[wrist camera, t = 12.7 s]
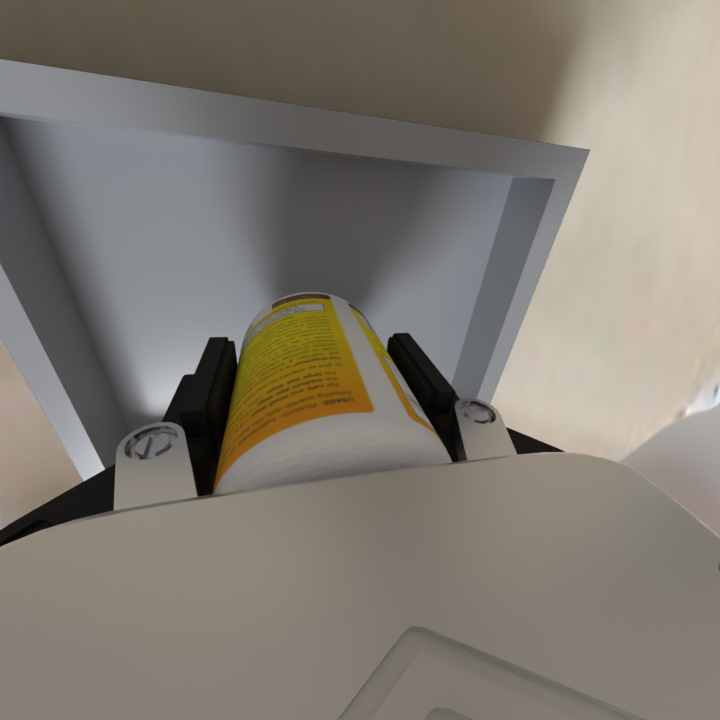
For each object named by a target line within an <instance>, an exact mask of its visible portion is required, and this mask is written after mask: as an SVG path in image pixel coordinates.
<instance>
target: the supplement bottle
mask: <svg viewBox="0 0 720 720" xmlns="http://www.w3.org/2000/svg"><path fill="white" fill-rule="evenodd" d="M451 462H452V460H451V458H450V456H449V454H448V452H447V450H446V448H445V446H444V445H443V443H442V441H441V439H440V438H439V436H438V435H437V433H436V431H435V430H434V428H433V426H432V425H431V423H430V421H429V420H428V418H427V416H426V415H425V413H424V412H423V410H422V408H421V407H420V405H419V403H418V402H417V400H416V398H415V397H414V395H413V393H412V392H411V390H410V388H409V387H408V385H407V383H406V382H405V380H404V378H403V377H402V375H401V373H400V372H399V370H398V369H397V367H396V365H395V364H394V362H393V360H392V359H391V357H390V356H389V354H388V352H387V351H386V349H385V347H384V346H383V344H382V342H381V341H380V339H379V338H378V336H377V334H376V333H375V331H374V330H373V328H372V326H371V325H370V323H369V322H368V320H367V319H366V318H365V316H364V315H363V314H362V313H361V312H360V311H359V310H358V309H357V308H356V307H355V306H354V305H352V304H351V303H349V302H348V301H346V300H344V299H342V298H340V297H337V296H335V295H331V294H327V293H322V292H300V293H294V294H291V295H287V296H284V297H282V298H279V299H277V300H276V301H274V302H272V303H270V304H269V305H267V306H266V307H265V308H264V309H262V310H261V311H260V312H259V313H258V314H257V316H256V317H255V318H254V319H253V321H252V322H251V323H250V325H249V327H248V329H247V331H246V333H245V336H244V339H243V342H242V347H241V351H240V357H239V361H238V367H237V372H236V376H235V381H234V387H233V391H232V396H231V402H230V406H229V412H228V417H227V422H226V428H225V433H224V437H223V442H222V448H221V453H220V458H219V463H218V468H217V473H216V479H215V483H214V488H213V493H212V495H213V494H220V493H227V492H235V491H242V490H249V489H256V488H263V487H271V486H278V485H285V484H292V483H299V482H307V481H314V480H321V479H329V478H336V477H344V476H351V475H358V474H366V473H374V472H381V471H389V470H396V469H404V468H411V467H419V466H427V465H435V464H443V463H451Z"/></svg>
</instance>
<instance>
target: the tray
mask: <svg viewBox="0 0 720 720" xmlns="http://www.w3.org/2000/svg"><path fill="white" fill-rule="evenodd" d="M589 151H590V150H589V149H582V148H576V147H569V146H563V145H556V144H550V143H543V142H537V141H530V140H524V139H517V138H511V137H504V136H498V135H491V134H485V133H478V132H472V131H465V130H459V129H452V128H446V127H439V126H433V125H426V124H420V123H413V122H407V121H400V120H394V119H387V118H381V117H374V116H368V115H361V114H355V113H348V112H342V111H335V110H329V109H322V108H316V107H309V106H303V105H296V104H290V103H283V102H277V101H270V100H264V99H257V98H251V97H244V96H238V95H231V94H225V93H218V92H212V91H205V90H199V89H192V88H186V87H179V86H173V85H166V84H160V83H153V82H147V81H140V80H134V79H127V78H121V77H114V76H108V75H101V74H95V73H88V72H82V71H75V70H69V69H62V68H56V67H49V66H43V65H36V64H30V63H23V62H17V61H10V60H4V59H0V338H1V340H2V341H3V343H4V345H5V347H6V348H7V350H8V352H9V353H10V355H11V357H12V359H13V360H14V362H15V364H16V365H17V367H18V369H19V371H20V372H21V374H22V376H23V378H24V379H25V381H26V383H27V384H28V386H29V388H30V390H31V391H32V393H33V395H34V396H35V398H36V400H37V402H38V403H39V405H40V407H41V409H42V410H43V412H44V414H45V415H46V417H47V419H48V421H49V422H50V424H51V426H52V428H53V429H54V431H55V433H56V434H57V436H58V438H59V440H60V441H61V443H62V445H63V446H64V448H65V450H66V452H67V453H68V455H69V457H70V459H71V460H72V462H73V464H74V465H75V467H76V469H77V471H78V472H79V474H80V476H81V478H82V479H83V481H86V480H87V479H89V478H91V477H93V476H94V475H96V474H98V473H100V472H101V471H103V470H105V469H107V468H108V467H110V466H112V465H114V464H115V463H116V451H117V448H118V445H119V444H120V442H121V441H122V440H123V439H124V438H125V437H126V436H127V435H129V434H130V433H131V432H133V431H135V430H137V429H139V428H140V427H143V426H146V425H149V424H153V423H158V422H162V420H163V417H164V415H165V413H166V411H167V409H168V407H169V405H170V402H171V400H172V398H173V396H174V394H175V392H176V390H177V387H178V385H179V383H180V381H181V379H182V377H183V376H184V375H186V374H195V371H196V369H197V366H198V364H199V362H200V359H201V357H202V354H203V352H204V349H205V347H206V345H207V342H208V340H209V338H210V337H228V340H229V341H234V343H235V349H236V356H237V363H238V361H239V357H240V351H241V347H242V342H243V339H244V336H245V333H246V331H247V329H248V327H249V325H250V323H251V322H252V321H253V319H254V318H255V317H256V316H257V314H258V313H259V312H260V311H261V310H262V309H264V308H265V307H266V306H267V305H269V304H270V303H272V302H274V301H276V300H277V299H279V298H282V297H284V296H287V295H291V294H294V293H300V292H322V293H327V294H331V295H335V296H337V297H340V298H342V299H344V300H346V301H348V302H349V303H351V304H352V305H354V306H355V307H356V308H357V309H358V310H359V311H360V312H361V313H362V314H363V315H364V316H365V318H366V319H367V320H368V322H369V323H370V325H371V326H372V328H373V330H374V331H375V333H376V334H377V336H378V338H379V339H380V341H381V342H382V344H383V346H384V347H385V349H386V351H387V344H388V339H389V337H393V334H394V333H409V334H410V335H411V336H412V338H413V339H414V340H415V341H416V343H417V344H418V345H419V346H420V348H421V349H422V350H423V351H424V353H425V354H426V355H427V356H428V358H429V359H430V360H431V361H432V363H433V364H434V365H435V366H436V368H437V369H438V370H439V371H440V373H441V374H442V375H443V376H444V378H445V379H446V380H447V381H448V383H449V384H450V385H451V386H452V388H453V389H454V390H455V391H456V394H457V396H458V397H459V398H460V399H463V398H475V399H479V400H482V401H485V402H487V403H489V404H490V403H491V400H492V398H493V395H494V393H495V390H496V388H497V385H498V382H499V380H500V377H501V375H502V372H503V370H504V367H505V365H506V362H507V360H508V357H509V355H510V352H511V349H512V347H513V344H514V342H515V339H516V337H517V334H518V332H519V329H520V327H521V324H522V322H523V319H524V316H525V314H526V311H527V309H528V306H529V304H530V301H531V299H532V296H533V294H534V291H535V289H536V286H537V283H538V281H539V278H540V276H541V273H542V271H543V268H544V266H545V263H546V261H547V258H548V256H549V253H550V250H551V248H552V245H553V243H554V240H555V238H556V235H557V233H558V230H559V228H560V225H561V223H562V220H563V217H564V215H565V212H566V210H567V207H568V205H569V202H570V200H571V197H572V195H573V192H574V190H575V187H576V184H577V182H578V179H579V177H580V174H581V172H582V169H583V167H584V164H585V162H586V159H587V157H588V154H589Z"/></svg>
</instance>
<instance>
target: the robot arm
mask: <svg viewBox="0 0 720 720" xmlns="http://www.w3.org/2000/svg"><path fill="white" fill-rule="evenodd" d="M387 352H388V354H389V356H390V357H391V359H392V360H393V362H394V364H395V365H396V367H397V369H398V370H399V372H400V373H401V375H402V377H403V378H404V380H405V382H406V383H407V385H408V387H409V388H410V390H411V392H412V393H413V395H414V397H415V398H416V400H417V402H418V403H419V405H420V407H421V408H422V410H423V412H424V413H425V415H426V416H427V418H428V420H429V421H430V423H431V425H432V426H433V428H434V430H435V431H436V433H437V435H438V436H439V438H440V439H441V441H442V443H443V445H444V446H445V448H446V450H447V452H448V454H449V456H450V458H451V460H452V462H451V463H443V464H435V465H427V466H419V467H411V468H404V469H396V470H389V471H381V472H374V473H366V474H358V475H351V476H344V477H336V478H329V479H321V480H314V481H307V482H299V483H292V484H285V485H278V486H271V487H263V488H256V489H249V490H242V491H235V492H227V493H220V494H213V495H212V493H213V488H214V483H215V479H216V473H217V468H218V463H219V458H220V453H221V448H222V442H223V437H224V433H225V428H226V422H227V417H228V412H229V406H230V402H231V396H232V391H233V387H234V381H235V376H236V372H237V367H238V363H237V356H236V349H235V343H234V341H229V340H228V337H210V338H209V340H208V342H207V345H206V347H205V349H204V352H203V354H202V357H201V359H200V362H199V364H198V366H197V369H196V371H195V374H186V375H184V376H183V377H182V379H181V381H180V383H179V385H178V387H177V390H176V392H175V394H174V396H173V398H172V400H171V402H170V405H169V407H168V409H167V411H166V413H165V415H164V417H163V420H162V422H158V423H153V424H149V425H146V426H143V427H140V428H139V429H137V430H135V431H133V432H131V433H130V434H129V435H127V436H126V437H125V438H124V439H123V440H122V441H121V442H120V444H119V445H118V448H117V451H116V463H115V464H114V465H112V466H110V467H108V468H107V469H105V470H103V471H101V472H100V473H98V474H96V475H94V476H93V477H91V478H89V479H87V480H86V481H84V482H82V483H80V484H79V485H77V486H75V487H73V488H72V489H70V490H68V491H66V492H65V493H63V494H61V495H59V496H58V497H56V498H54V499H52V500H51V501H49V502H47V503H45V504H44V505H42V506H40V507H38V508H37V509H35V510H33V511H32V512H30V513H28V514H26V515H25V516H23V517H21V518H19V519H18V520H16V521H14V522H12V523H11V524H9V525H8V526H6V527H5V528H3V529H2V530H0V720H720V536H719V535H717V534H716V533H715V532H714V531H713V530H711V529H710V528H709V527H708V526H707V525H705V524H704V523H703V522H702V521H701V520H699V519H698V518H697V517H696V516H695V515H693V514H692V513H691V512H689V511H688V510H687V509H686V508H685V507H683V506H682V505H681V504H680V503H678V502H677V501H676V500H675V499H673V498H672V497H671V496H670V495H668V494H667V493H666V492H664V491H663V490H662V489H660V488H659V487H658V486H656V485H655V484H653V483H652V482H651V481H649V480H648V479H647V478H645V477H643V476H642V475H641V474H639V473H638V472H636V471H635V470H633V469H631V468H629V467H627V466H625V465H623V464H620V463H617V462H614V461H612V460H608V459H605V458H601V457H596V456H590V455H585V454H578V453H567V452H565V451H562V450H560V449H558V448H556V447H553V446H551V445H548V444H546V443H543V442H541V441H538V440H536V439H534V438H531V437H529V436H526V435H524V434H521V433H519V432H516V431H514V430H512V429H509V428H507V427H505V424H504V422H503V420H502V417H501V415H500V414H499V412H498V410H497V409H495V408H494V407H493V406H492V405H490V404H489V403H487V402H485V401H482V400H479V399H475V398H463V399H460V398H459V397H458V396H457V394H456V391H455V390H454V389H453V388H452V386H451V385H450V384H449V383H448V381H447V380H446V379H445V378H444V376H443V375H442V374H441V373H440V371H439V370H438V369H437V368H436V366H435V365H434V364H433V363H432V361H431V360H430V359H429V358H428V356H427V355H426V354H425V353H424V351H423V350H422V349H421V348H420V346H419V345H418V344H417V343H416V341H415V340H414V339H413V338H412V336H411V335H410V334H409V333H394V334H393V337H389V339H388V344H387Z"/></svg>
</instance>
